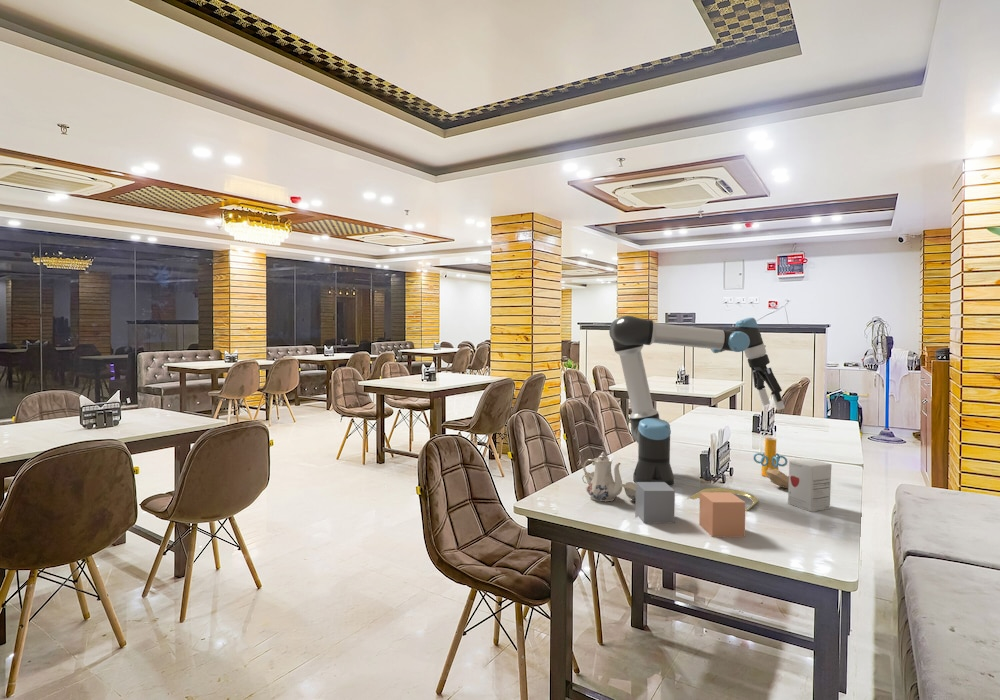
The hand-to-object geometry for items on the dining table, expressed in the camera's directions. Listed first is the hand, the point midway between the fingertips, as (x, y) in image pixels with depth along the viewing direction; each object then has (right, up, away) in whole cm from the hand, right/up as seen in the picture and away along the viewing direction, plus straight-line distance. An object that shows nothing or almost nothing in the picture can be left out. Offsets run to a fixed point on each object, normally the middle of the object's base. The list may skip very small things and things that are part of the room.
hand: (773, 406), depth 212 cm
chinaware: (-71, -29, -26) cm, 81 cm away
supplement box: (-7, -29, -36) cm, 47 cm away
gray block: (-62, -29, -51) cm, 86 cm away
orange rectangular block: (-46, -30, -61) cm, 82 cm away
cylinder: (-1, -28, +1) cm, 28 cm away
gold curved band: (-36, -30, -35) cm, 58 cm away
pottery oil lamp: (-5, -29, -16) cm, 33 cm away
